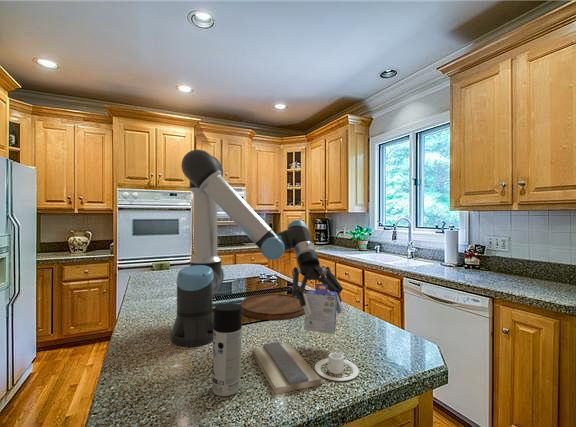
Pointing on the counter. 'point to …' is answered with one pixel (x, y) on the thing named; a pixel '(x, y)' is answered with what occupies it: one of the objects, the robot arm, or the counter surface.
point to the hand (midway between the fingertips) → (325, 313)
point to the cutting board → (272, 307)
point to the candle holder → (336, 367)
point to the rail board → (285, 367)
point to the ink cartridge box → (321, 310)
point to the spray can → (227, 349)
